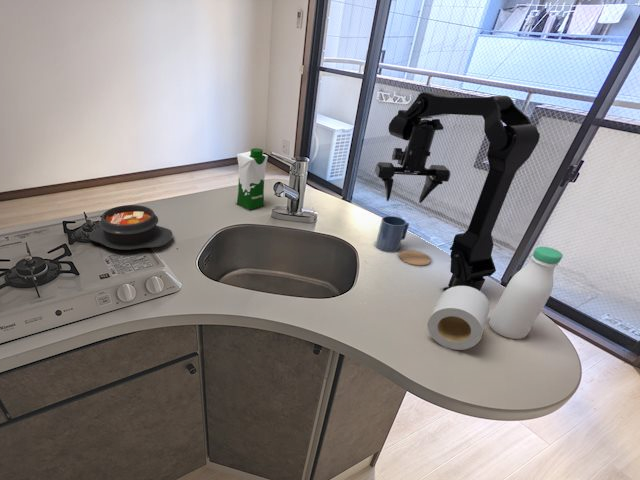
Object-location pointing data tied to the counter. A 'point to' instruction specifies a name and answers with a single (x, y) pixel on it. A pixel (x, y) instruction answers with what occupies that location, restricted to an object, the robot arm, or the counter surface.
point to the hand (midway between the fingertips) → (403, 201)
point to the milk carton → (251, 178)
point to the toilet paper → (459, 317)
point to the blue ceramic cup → (391, 233)
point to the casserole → (130, 229)
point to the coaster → (414, 258)
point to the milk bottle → (526, 295)
